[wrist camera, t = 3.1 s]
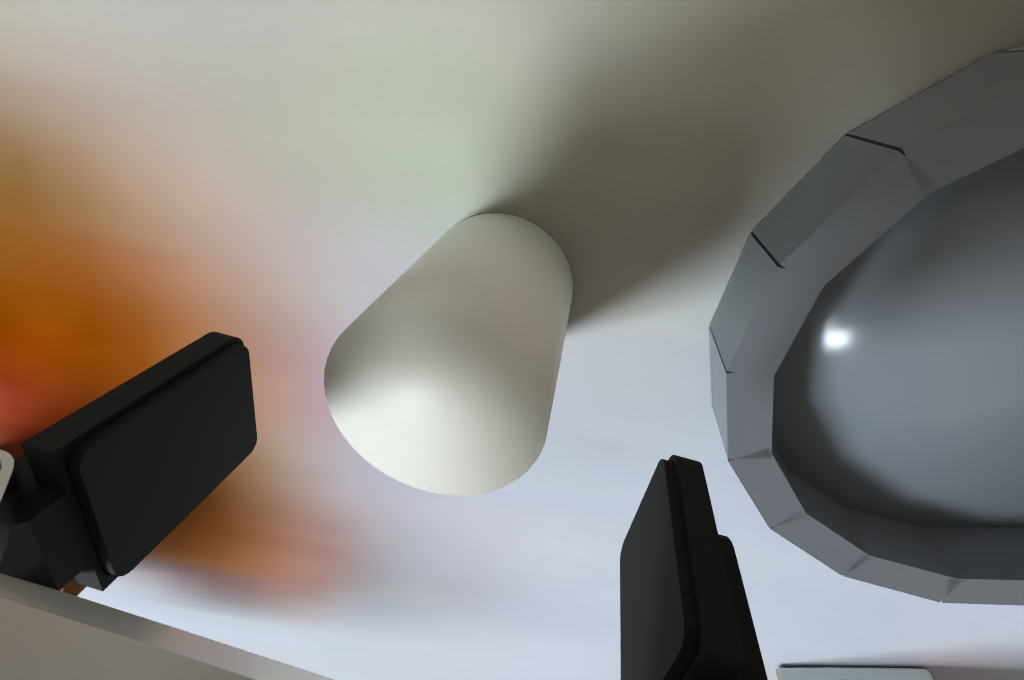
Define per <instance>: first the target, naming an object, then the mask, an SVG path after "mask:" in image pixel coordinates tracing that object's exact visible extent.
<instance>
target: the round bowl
mask: <svg viewBox="0 0 1024 680" xmlns="http://www.w3.org/2000/svg"><path fill="white" fill-rule="evenodd" d="M848 136H849V137H848ZM848 136H843V137H842V139H841V140H840V141H839V142H838V143H837V144H836V145H835V146H834V147H833V148H832V149H831V150H830V151H829V152H828V153H827V154H826V155H825V156H824V157H823V158H822V159H821V160H820V161H819V162H818V163H817V164H816V165H815V166H814V167H813V168H812V169H811V170H810V172H809V173H808V174H807V175H806V176H805V177H804V178H803V179H802V180H801V181H800V182H799V183H798V184H797V185H796V186H795V187H794V188H793V189H792V190H791V191H790V192H789V193H788V194H787V195H786V196H785V197H784V198H783V199H782V200H781V201H780V202H779V203H778V205H777V206H776V207H775V208H774V209H773V210H772V211H771V212H770V213H769V214H768V215H767V216H766V217H765V218H764V219H763V220H762V221H761V222H760V223H759V224H758V225H757V226H756V227H755V228H754V229H753V230H752V232H753V233H754V234H755V235H754V234H750V235H749V237H748V239H747V242H746V244H745V246H744V248H743V251H742V253H741V255H740V257H739V260H738V262H737V264H736V267H735V269H734V271H733V273H732V276H731V278H730V280H729V282H728V285H727V287H726V289H725V291H724V294H723V296H722V298H721V301H720V303H719V305H718V307H717V310H716V312H715V314H714V316H713V319H712V321H711V323H710V327H709V334H710V362H711V391H712V406H713V410H714V413H715V417H716V420H717V424H718V427H719V431H720V434H721V438H722V441H723V444H724V448H725V451H726V455H727V458H728V462H729V463H730V465H731V466H732V468H733V470H734V471H735V473H736V475H737V476H738V478H739V479H740V481H741V483H742V484H743V486H744V488H745V489H746V491H747V492H748V494H749V496H750V497H751V499H752V501H753V502H754V504H755V505H756V507H757V509H758V510H759V512H760V514H761V515H762V517H763V518H764V520H765V522H766V523H767V525H768V527H770V529H771V530H773V531H774V532H776V533H778V534H779V535H781V536H782V537H784V538H785V539H787V540H788V541H790V542H791V543H793V544H794V545H796V546H797V547H799V548H800V549H802V550H804V551H805V552H807V553H808V554H810V555H811V556H813V557H814V558H816V559H817V560H819V561H820V562H822V563H823V564H825V565H827V566H828V567H830V568H831V569H833V570H834V571H836V572H837V573H839V574H840V575H843V576H845V577H849V578H852V579H856V580H860V581H863V582H867V583H871V584H874V585H878V586H882V587H885V588H889V589H893V590H896V591H900V592H904V593H908V594H911V595H915V596H919V597H922V598H926V599H930V600H933V601H937V602H941V601H942V603H967V604H997V605H1024V46H1020V47H1015V48H1011V49H1006V50H1001V51H997V53H992V54H990V55H988V56H986V57H985V58H983V59H981V60H979V61H977V62H976V63H974V64H972V65H970V66H968V67H966V68H965V69H963V70H961V71H959V72H957V73H956V74H954V75H952V76H950V77H948V78H947V79H945V80H943V81H941V82H939V83H937V84H936V85H934V86H932V87H930V88H928V89H927V90H925V91H923V92H921V93H919V94H918V95H916V96H914V97H912V98H910V99H908V100H907V101H905V102H903V103H901V104H899V105H898V106H896V107H894V108H892V109H890V110H889V111H887V112H885V113H883V114H881V115H880V116H878V117H876V118H874V119H872V120H870V121H869V122H867V123H865V124H863V125H861V126H860V127H858V128H856V129H854V130H852V131H851V132H849V133H848Z"/></svg>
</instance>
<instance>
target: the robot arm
mask: <svg viewBox="0 0 1024 680" xmlns="http://www.w3.org/2000/svg"><path fill="white" fill-rule="evenodd" d="M256 441H257V432H256V421H255V411H254V400H253V390H252V379H251V369H250V359H249V351H248V349H247V347H245V346H244V344H243V342H242V340H241V339H239V338H237V337H233V336H229V335H225V334H222V333H218V332H210V333H208V334H206V335H204V336H203V337H201V338H199V339H198V340H196V341H194V342H193V343H191V344H189V345H187V346H186V347H184V348H182V349H181V350H179V351H177V352H176V353H174V354H172V355H171V356H169V357H167V358H165V359H164V360H162V361H160V362H159V363H157V364H155V365H154V366H152V367H150V368H148V369H147V370H145V371H143V372H142V373H140V374H138V375H137V376H135V377H133V378H132V379H130V380H128V381H126V382H125V383H123V384H121V385H120V386H118V387H116V388H115V389H113V390H111V391H109V392H108V393H106V394H104V395H103V396H101V397H99V398H98V399H96V400H94V401H93V402H91V403H89V404H87V405H86V406H84V407H82V408H81V409H79V410H77V411H76V412H74V413H72V414H71V415H69V416H67V417H65V418H64V419H62V420H60V421H59V422H57V423H55V424H54V425H52V426H50V427H48V428H47V429H45V430H43V431H42V432H40V433H38V434H37V435H35V436H33V437H32V438H30V439H28V440H26V441H25V442H23V443H21V446H22V448H23V451H24V453H25V454H24V455H23V456H21V457H19V458H18V459H16V460H14V459H13V457H12V456H11V455H10V453H8V452H6V451H3V450H1V449H0V680H333V679H330V678H327V677H324V676H321V675H318V674H315V673H312V672H309V671H306V670H303V669H300V668H297V667H294V666H291V665H287V664H284V663H281V662H278V661H275V660H272V659H269V658H266V657H263V656H260V655H257V654H254V653H251V652H248V651H245V650H242V649H238V648H235V647H232V646H229V645H226V644H223V643H220V642H217V641H214V640H211V639H208V638H205V637H202V636H199V635H195V634H192V633H189V632H186V631H183V630H180V629H177V628H174V627H171V626H168V625H164V624H161V623H158V622H155V621H152V620H149V619H146V618H143V617H139V616H136V615H133V614H130V613H127V612H124V611H121V610H118V609H114V608H111V607H108V606H105V605H102V604H99V603H96V602H93V601H90V600H86V599H83V598H80V597H77V596H74V595H71V594H68V593H65V592H63V589H64V586H65V585H66V584H68V583H69V582H70V581H71V580H72V579H73V578H74V577H75V579H76V581H77V583H79V584H82V585H85V586H88V587H91V588H94V589H97V590H100V591H104V590H105V589H106V588H107V587H108V586H109V585H110V584H111V583H112V582H113V581H114V580H115V579H116V578H117V577H118V576H124V575H126V574H127V573H129V572H130V571H131V570H133V569H134V568H135V567H136V566H137V565H138V564H139V563H140V562H141V561H142V560H143V559H144V558H145V557H146V556H147V555H148V554H149V553H150V552H151V551H152V550H153V549H154V548H155V547H156V546H157V545H158V544H159V543H160V542H161V541H162V540H163V539H164V538H165V537H166V536H167V535H168V534H169V533H170V532H171V531H172V530H173V529H174V528H175V527H176V526H177V525H178V524H179V523H180V522H181V521H182V520H183V519H184V518H185V517H186V516H187V515H188V514H189V513H190V512H191V511H193V510H194V509H195V508H196V507H197V506H198V505H199V504H200V503H201V502H202V501H203V500H204V499H205V498H206V497H207V496H208V495H209V494H210V493H211V492H212V491H213V490H214V489H215V488H216V487H217V486H218V485H219V484H220V483H221V482H222V481H223V480H224V479H225V478H226V477H227V476H228V475H229V474H230V473H231V472H232V471H233V470H234V469H235V468H236V467H237V466H238V465H239V464H240V463H241V462H242V461H243V460H244V459H245V458H246V457H247V456H248V455H249V454H250V453H251V452H252V451H253V449H254V447H255V445H256ZM620 615H621V680H768V679H767V675H766V671H765V667H764V663H763V660H762V656H761V652H760V648H759V644H758V640H757V636H756V632H755V628H754V624H753V620H752V617H751V613H750V609H749V605H748V601H747V597H746V593H745V589H744V585H743V581H742V578H741V574H740V570H739V566H738V562H737V558H736V554H735V550H734V547H733V544H732V542H731V540H730V539H729V538H728V537H726V536H723V535H719V534H718V532H717V527H716V523H715V519H714V514H713V510H712V506H711V501H710V497H709V492H708V488H707V484H706V479H705V475H704V470H703V466H702V464H701V463H700V462H698V461H694V460H691V459H687V458H683V457H680V456H676V455H672V456H671V457H670V458H669V460H664V459H661V460H660V461H659V463H658V465H657V467H656V470H655V472H654V474H653V476H652V479H651V481H650V483H649V486H648V488H647V490H646V492H645V495H644V497H643V499H642V501H641V504H640V506H639V508H638V511H637V513H636V515H635V517H634V520H633V522H632V524H631V527H630V529H629V531H628V533H627V536H626V538H625V540H624V543H623V546H622V550H621V556H620Z"/></svg>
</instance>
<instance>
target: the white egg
mask: <svg viewBox="0 0 1024 680" xmlns="http://www.w3.org/2000/svg"><path fill="white" fill-rule="evenodd" d="M572 296H573V280H572V274H571V270H570V266H569V264H568V261H567V258H566V257H565V255H564V253H563V251H562V249H561V248H560V247H559V245H558V244H557V243H556V241H555V240H554V239H553V238H552V237H551V236H550V235H549V234H548V233H546V232H545V231H544V230H543V229H541V228H540V227H539V226H537V225H535V224H534V223H532V222H530V221H528V220H525V219H523V218H520V217H517V216H514V215H509V214H503V213H487V214H480V215H476V216H472V217H470V218H467V219H465V220H463V221H461V222H459V223H458V224H456V225H454V226H453V227H452V228H451V229H450V230H448V231H447V232H446V233H445V234H444V235H443V236H442V237H441V238H440V239H439V240H438V241H437V242H436V243H435V244H434V245H433V246H432V247H431V248H430V249H429V250H427V251H426V252H425V253H424V254H423V255H422V256H421V257H420V258H419V259H418V260H417V261H416V262H415V263H414V264H413V265H412V266H411V267H410V268H409V269H408V270H407V271H406V272H405V273H404V274H403V275H401V276H400V277H399V278H398V279H397V280H396V281H395V282H394V283H393V284H392V285H391V286H390V287H389V288H388V289H387V290H386V291H385V292H384V293H383V294H382V295H381V296H380V297H379V298H378V299H377V300H375V301H374V302H373V303H372V304H371V305H370V306H369V307H368V308H367V309H366V310H365V311H364V312H363V313H362V314H361V315H360V316H359V317H358V318H357V319H356V320H355V321H354V322H353V323H352V324H351V325H349V326H348V327H347V328H346V329H345V331H344V332H343V333H342V334H341V335H340V336H339V337H338V338H337V340H336V342H335V343H334V345H333V346H332V348H331V351H330V353H329V356H328V358H327V362H326V367H325V374H324V386H325V395H326V399H327V403H328V407H329V409H330V412H331V414H332V417H333V419H334V421H335V423H336V424H337V426H338V428H339V430H340V431H341V433H342V434H343V436H344V437H345V438H346V440H347V441H348V442H349V443H350V444H351V446H352V447H353V448H354V449H355V450H356V451H357V452H358V453H359V454H360V455H361V456H362V457H363V458H364V459H365V460H367V461H368V462H369V463H370V464H372V465H373V466H374V467H376V468H377V469H379V470H380V471H382V472H383V473H385V474H386V475H388V476H390V477H392V478H394V479H396V480H397V481H400V482H402V483H404V484H407V485H409V486H412V487H415V488H418V489H421V490H424V491H428V492H433V493H438V494H445V495H476V494H481V493H486V492H490V491H493V490H497V489H500V488H502V487H504V486H506V485H508V484H510V483H512V482H513V481H515V480H517V479H518V478H520V477H521V476H522V475H523V474H524V473H525V472H527V471H528V470H529V469H530V467H531V466H532V465H533V464H534V463H535V461H536V460H537V458H538V456H539V455H540V453H541V451H542V448H543V446H544V443H545V440H546V435H547V430H548V425H549V419H550V414H551V409H552V403H553V398H554V393H555V387H556V382H557V377H558V371H559V366H560V360H561V355H562V350H563V344H564V339H565V334H566V328H567V323H568V318H569V312H570V307H571V302H572Z"/></svg>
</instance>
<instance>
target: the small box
mask: <svg viewBox="0 0 1024 680" xmlns="http://www.w3.org/2000/svg"><path fill="white" fill-rule="evenodd" d="M776 673H777V677H778V680H933V678H932V676H931V674H930V672H929V671H928V670H926V669H911V668H838V667H818V668H778V669H776Z"/></svg>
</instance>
